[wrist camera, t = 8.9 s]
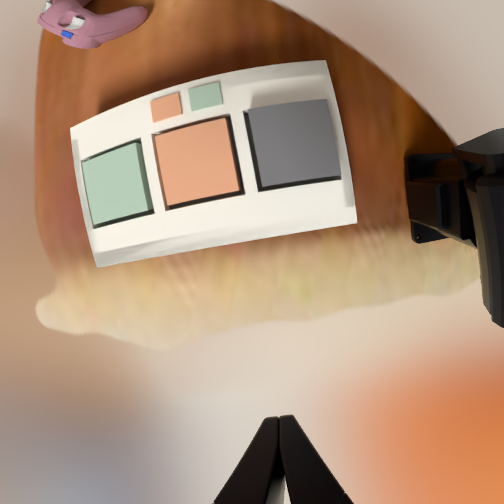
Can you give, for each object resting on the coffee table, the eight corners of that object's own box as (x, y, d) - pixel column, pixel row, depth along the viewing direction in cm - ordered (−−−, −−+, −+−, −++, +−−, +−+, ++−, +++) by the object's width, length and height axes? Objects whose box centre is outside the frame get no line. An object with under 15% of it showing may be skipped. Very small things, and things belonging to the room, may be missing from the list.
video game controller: (79, 21, 16) (22, 27, 10) (98, -16, 13) (40, -17, 7) (131, 55, 17) (64, 62, 12) (157, 11, 14) (89, 3, 9)
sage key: (148, 145, 17) (135, 142, 15) (160, 206, 18) (148, 210, 16) (98, 163, 17) (82, 163, 15) (109, 219, 18) (93, 224, 16)
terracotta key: (229, 124, 16) (225, 118, 14) (242, 189, 17) (238, 190, 15) (166, 140, 16) (154, 136, 14) (178, 202, 17) (167, 205, 15)
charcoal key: (319, 108, 15) (326, 98, 13) (332, 175, 16) (341, 175, 14) (249, 117, 15) (247, 109, 13) (262, 185, 16) (262, 186, 14)
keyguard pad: (317, 76, 16) (326, 58, 13) (343, 216, 18) (358, 223, 15) (93, 132, 17) (68, 128, 14) (116, 256, 20) (95, 268, 17)
